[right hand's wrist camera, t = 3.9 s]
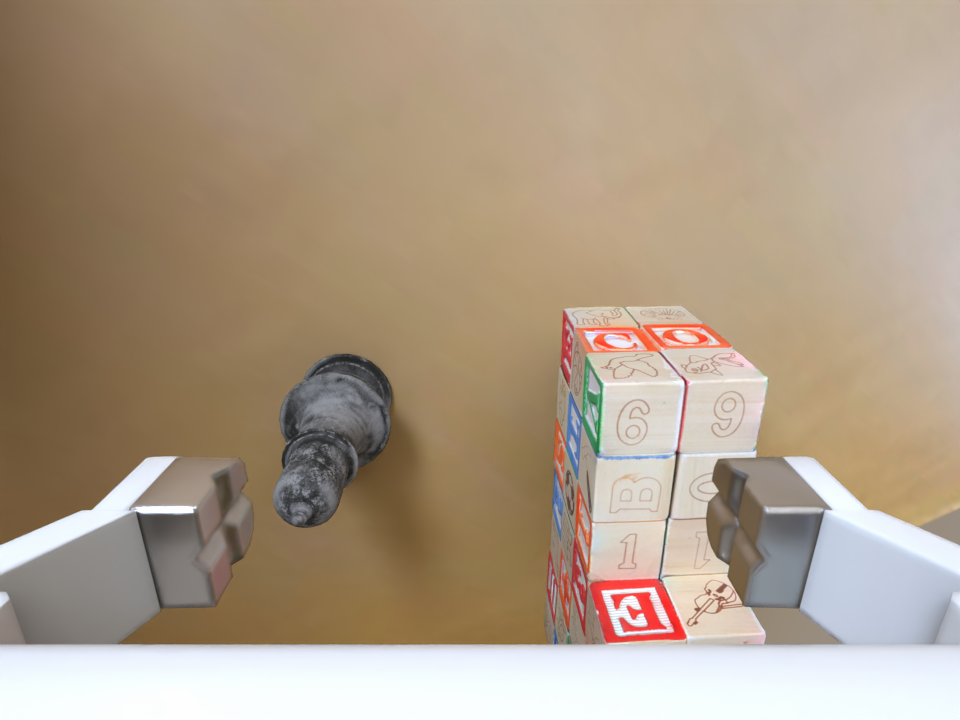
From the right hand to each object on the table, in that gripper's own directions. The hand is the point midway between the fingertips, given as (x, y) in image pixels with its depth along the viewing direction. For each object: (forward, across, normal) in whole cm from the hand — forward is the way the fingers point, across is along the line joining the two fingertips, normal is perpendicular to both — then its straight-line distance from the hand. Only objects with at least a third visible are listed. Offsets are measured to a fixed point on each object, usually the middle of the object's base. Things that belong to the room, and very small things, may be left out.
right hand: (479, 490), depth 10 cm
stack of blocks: (+20, +7, -13) cm, 25 cm away
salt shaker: (+23, -8, -9) cm, 26 cm away
